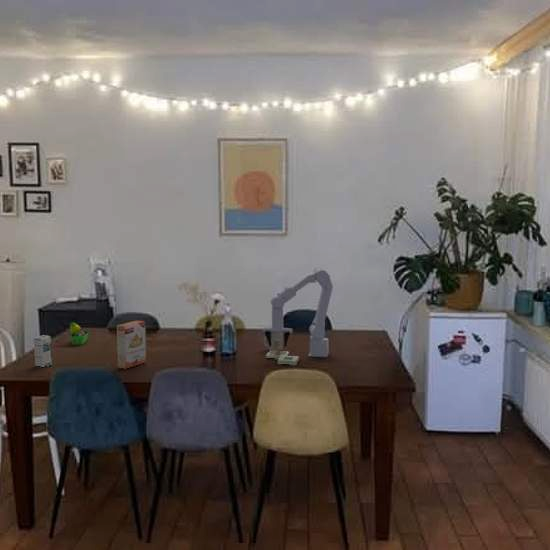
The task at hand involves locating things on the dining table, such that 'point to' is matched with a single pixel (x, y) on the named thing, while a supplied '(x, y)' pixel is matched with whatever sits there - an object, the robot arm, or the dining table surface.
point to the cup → (273, 340)
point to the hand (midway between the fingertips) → (277, 346)
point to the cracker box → (131, 344)
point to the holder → (288, 360)
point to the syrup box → (43, 350)
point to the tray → (272, 355)
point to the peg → (277, 347)
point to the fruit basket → (78, 334)
